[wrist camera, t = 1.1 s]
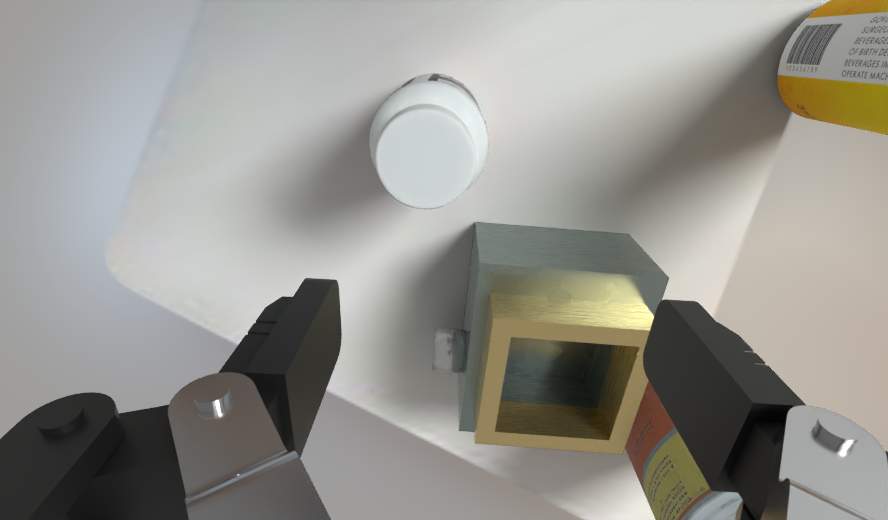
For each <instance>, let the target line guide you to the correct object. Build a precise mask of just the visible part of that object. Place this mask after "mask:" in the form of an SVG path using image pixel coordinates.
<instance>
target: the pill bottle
mask: <svg viewBox="0 0 888 520" xmlns="http://www.w3.org/2000/svg"><path fill="white" fill-rule="evenodd" d="M369 147H370V154H371V158H372V162H373V164H374V167H375V169H376V171H377V173H378V176H379V178H380V180H381V182H382V184H383V186H384V187H385V189H386V190H387V191H388V192H389V193H390V194H391V195H392V196H393V197H394V198H395V199H397V200H398V201H400V202H401V203H403V204H405V205H407V206H410V207H413V208H418V209H434V208H439V207H443V206H445V205H447V204H450V203H451V202H453V201H454V200H456V199H457V198H458V197H459V196H460V195H462V194H463V192H464V191H465V190H467V189H468V188H469V187H470V186H471V185H472V184H473V183H474V182H475V181H476V179H477V178H478V177H479V175H480V173H481V171H482V169H483V167H484V165H485V162H486V158H487V153H488V131H487V126H486V122H485V120H484V118H483V115H482V114H481V111H480V109H479V106H478V104H477V101H476V99H475V98H474V96H473V95H472V93H471V92H470V91H469V89H468V88H467V87H466V86H465V85H464V84H462V83H461V82H460V81H458V80H456V79H454V78H453V77H450V76H447V75H444V74H437V73H431V74H425V75H421V76H418V77H415V78H413V79H411V80H410V81H408V82H407V83H405V84H404V85H403V86H402V87H401V88H400V89H398V90H396V91H395V92H394V93H393V94H391V95H390V96H389V97H388V98H387V99H386V100H385V101H384V102H383V104H382V105H381V106H380V108H379V110H378V111H377V113H376V115H375V117H374V120H373V123H372V126H371V130H370V137H369Z"/></svg>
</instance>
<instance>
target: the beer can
mask: <svg viewBox="0 0 888 520" xmlns="http://www.w3.org/2000/svg"><path fill="white" fill-rule="evenodd" d="M778 88H779V92H780V95H781V97H782V100H783V101H784V103H785V104H786V106H787V107H788V108H789V109H790V110H791V111H793V112H794V113H796V114H797V115H800V116H802V117H805V118H809V119H814V120H818V121H824V122H828V123H833V124H838V125H843V126H847V127H852V128H857V129H862V130H867V131H872V132H877V133H881V134H886V135H888V0H831V1H829V2H827V3H825V4H824V5H822V6H821V7H819V8H818V9H817V10H815V11H814V12H813V13H811V14H810V15H809V16H808V17H807V18H806V19H805V20H804V21H803V22H802V23H801V24H800V25H799V27H798V28H797V29H796V30H795V32H794V33H793V35H792V36H791V38H790V39H789V41H788V43H787V45H786V46H785V49H784V51H783V53H782V56H781V59H780V63H779V67H778Z"/></svg>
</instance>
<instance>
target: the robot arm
mask: <svg viewBox="0 0 888 520" xmlns="http://www.w3.org/2000/svg"><path fill="white" fill-rule="evenodd" d="M340 347H341V316H340V299H339V286H338V282H337V280H330V279H312V278H306V279H305V280H304V281H303V282H302V284H301V285H300V287H299V289H298V290H297V292H296V293H295V295H294V296H293V297H281V298H279V299H278V300H276V301H275V302H273V303H272V304H270V305H269V306H267V307H266V308H265V309H264V310H263V312H262V313H261V315H260V316H259V317H258V319H257V320H256V323H254V324H253V326H252V327H251V328H250V330H249V331H248V335H245V337H244V338H243V339H242V341H241V342H240V344H239V345H238V346H237V348H236V349H235V351H234V352H233V353H232V355H231V356H230V358H229V359H228V360H227V362H226V363H225V365H224V366H223V367H222V369H221V370H220V371H219V373H216V374H212V375H208V376H205V377H202V378H199V379H197V380H195V381H193V382H191V383H189V384H188V385H186V386H185V387H183V388H182V389H181V390H180V391H179V392H178V393H177V394H176V395H175V396H174V397H173V398H172V400H171V402H170V404H169V405H165V406H160V407H155V408H149V409H143V410H137V411H131V412H125V413H120V414H119V413H118V410H117V408H116V405H115V402H114V401H113V399H112V398H111V397H109V396H107V395H105V394H101V393H81V394H74V395H70V396H67V397H63V398H60V399H57V400H55V401H52V402H50V403H48V404H45V405H43V406H42V407H40V408H38V409H36V410H34V411H33V412H31V413H30V414H28V415H27V416H25V417H24V418H23V419H22V420H21V421H20V422H18V423H17V424H16V425H15V426H14V427H13V428H12V429H11V430H10V431H9V432H8V433H6V434H5V435H4V436H3V437H2V438H1V439H0V520H331V518H330V516H329V515H328V513H327V511H326V509H325V507H324V505H323V503H322V501H321V499H320V497H319V495H318V493H317V491H316V489H315V487H314V485H313V483H312V481H311V479H310V477H309V475H308V473H307V471H306V469H305V467H304V465H303V463H302V461H301V459H300V457H301V454H302V452H303V449H304V446H305V444H306V441H307V438H308V436H309V433H310V431H311V428H312V425H313V423H314V420H315V417H316V414H317V412H318V409H319V407H320V404H321V401H322V399H323V396H324V393H325V391H326V388H327V385H328V383H329V380H330V377H331V375H332V372H333V370H334V367H335V364H336V362H337V359H338V356H339V352H340ZM643 367H644V371H645V374H646V376H647V378H648V380H649V382H650V383H651V385H652V387H653V389H654V390H655V392H656V394H657V396H658V397H659V399H660V401H661V403H662V405H663V406H664V408H665V410H666V412H667V413H668V415H669V417H670V419H671V420H672V422H673V424H674V426H675V427H676V429H677V431H678V433H679V434H680V436H681V438H682V440H683V441H684V443H685V445H686V447H687V448H688V450H689V452H690V454H691V455H692V457H693V459H694V461H695V462H696V464H697V466H698V468H699V469H700V471H701V473H702V475H703V476H704V478H705V480H706V482H707V483H708V485H709V487H710V489H711V490H712V491H717V492H734V493H739V495H740V496H741V498H742V501H741V503H740V505H739V507H738V509H737V512H736V516H735V520H888V452H887V451H885V450H884V448H883V447H882V445H881V444H880V443H879V442H878V440H877V439H876V438H875V437H874V436H873V435H871V434H870V433H869V432H868V431H867V430H865V429H864V428H863V427H861V426H860V425H858V424H856V423H855V422H853V421H851V420H850V419H848V418H846V417H844V416H842V415H839V414H837V413H835V412H832V411H829V410H826V409H822V408H819V407H814V406H806V405H805V403H803V401H801V399H800V398H799V397H798V396H797V395H796V394H795V393H794V392H793V391H792V390H791V389H790V388H789V387H788V386H787V385H786V384H785V383H784V382H783V381H782V380H781V379H780V378H779V377H778V375H777V374H775V372H774V371H773V370H772V369H771V368H770V367H769V366H765V362H764V361H763V360H762V359H761V358H760V357H759V356H758V355H757V354H756V353H753V350H752V349H751V348H750V346H749V345H748V344H747V343H746V342H745V341H744V340H743V339H742V338H741V337H740V336H739V335H737V334H736V333H734V332H733V331H731V330H729V329H728V328H726V327H725V326H723V325H721V324H720V323H718V322H716V321H715V320H714V319H713V318H712V317H711V316H710V315H709V314H708V312H707V311H706V310H705V309H704V308H703V307H702V306H701V305H700V304H699V303H698V302H695V301H681V300H662V301H661V302H660V303H659V304H658V306H657V309H656V312H655V315H654V319H653V322H652V325H651V329H650V332H649V335H648V338H647V342H646V345H645V348H644V352H643Z"/></svg>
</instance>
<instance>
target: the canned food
mask: <svg viewBox="0 0 888 520" xmlns="http://www.w3.org/2000/svg"><path fill="white" fill-rule="evenodd" d="M753 353H754V352H753ZM765 366H766V364H765ZM625 448H626V450H627V453H628V455H629V458H630V460H631V462H632V465H633V467H634V469H635V472H636V474H637V476H638V479H639V481H640V484H641V486H642V488H643V491H644V493H645V495H646V498H647V500H648V503H649V505H650V507H651V510H652V512H653V514H654V517H655V519H656V520H735V516H736V512H737V509H738V507H739V505H740V503H741V501H742V498H741V496H740V495H739V493H734V492H717V491H712V490H711V489H710V487H709V485H708V483H707V482H706V480H705V478H704V476H703V475H702V473H701V471H700V469H699V468H698V466H697V464H696V462H695V461H694V459H693V457H692V455H691V454H690V452H689V450H688V448H687V447H686V445H685V443H684V441H683V440H682V438H681V436H680V434H679V433H678V431H677V429H676V427H675V426H674V424H673V422H672V420H671V419H670V417H669V415H668V413H667V412H666V410H665V408H664V406H663V405H662V403H661V401H660V399H659V397H658V396H657V394H656V392H655V390H654V389H653V387H652V385H651V383H650V382H649V380H648V383H647V386H646V389H645V391H644V394H643V397H642V400H641V403H640V406H639V408H638V411H637V414H636V417H635V420H634V423H633V425H632V428H631V431H630V434H629V437H628V440H627V443H626V445H625Z"/></svg>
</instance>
